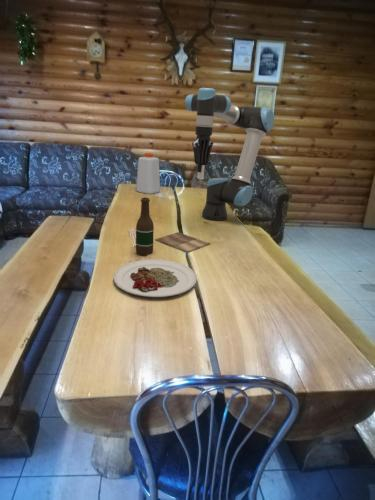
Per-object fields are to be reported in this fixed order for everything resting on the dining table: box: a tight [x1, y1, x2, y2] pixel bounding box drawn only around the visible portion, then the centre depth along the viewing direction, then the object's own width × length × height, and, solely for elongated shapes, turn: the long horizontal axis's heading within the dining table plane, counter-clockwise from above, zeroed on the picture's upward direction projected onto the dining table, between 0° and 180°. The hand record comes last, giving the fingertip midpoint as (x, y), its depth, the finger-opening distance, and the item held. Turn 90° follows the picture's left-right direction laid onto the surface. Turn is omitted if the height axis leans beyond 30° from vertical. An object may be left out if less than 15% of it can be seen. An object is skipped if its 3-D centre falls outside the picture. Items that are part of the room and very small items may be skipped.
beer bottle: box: [135, 197, 155, 257], centre depth 144 cm, size 8×8×24 cm
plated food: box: [112, 258, 197, 298], centre depth 125 cm, size 30×30×3 cm
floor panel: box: [154, 231, 197, 249], centre depth 164 cm, size 16×12×1 cm
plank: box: [173, 238, 211, 254], centre depth 157 cm, size 16×8×1 cm, turn 139°
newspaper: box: [128, 228, 136, 248], centre depth 164 cm, size 24×7×2 cm, turn 13°
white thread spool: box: [135, 152, 161, 195], centre depth 254 cm, size 15×15×28 cm
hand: (200, 178), depth 163 cm, fingers closed
